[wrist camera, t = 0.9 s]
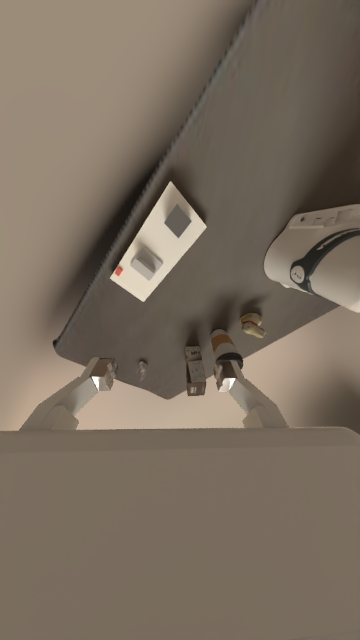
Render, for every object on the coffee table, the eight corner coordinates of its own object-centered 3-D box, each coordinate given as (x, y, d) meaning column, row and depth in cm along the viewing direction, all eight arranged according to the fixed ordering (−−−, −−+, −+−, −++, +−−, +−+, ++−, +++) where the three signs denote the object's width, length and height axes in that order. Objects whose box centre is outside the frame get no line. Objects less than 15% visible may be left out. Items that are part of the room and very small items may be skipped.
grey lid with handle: (143, 246, 32) (139, 248, 29) (163, 263, 35) (161, 267, 31) (130, 265, 35) (125, 269, 31) (149, 280, 37) (147, 285, 34)
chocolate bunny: (244, 309, 46) (258, 326, 38) (262, 314, 48) (280, 332, 40) (235, 321, 49) (247, 340, 41) (253, 326, 51) (267, 345, 43)
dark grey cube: (176, 206, 28) (177, 203, 25) (190, 221, 30) (191, 221, 27) (165, 223, 30) (163, 222, 27) (178, 237, 32) (178, 238, 28)
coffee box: (184, 346, 56) (187, 382, 43) (199, 345, 56) (206, 381, 43) (185, 360, 62) (187, 396, 49) (198, 359, 62) (204, 395, 48)
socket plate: (170, 184, 28) (170, 179, 26) (205, 226, 33) (207, 226, 30) (113, 275, 39) (108, 279, 36) (144, 298, 43) (142, 303, 41)
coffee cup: (210, 325, 50) (221, 357, 38) (231, 327, 51) (249, 359, 39) (205, 341, 55) (214, 374, 43) (225, 342, 56) (238, 375, 43)
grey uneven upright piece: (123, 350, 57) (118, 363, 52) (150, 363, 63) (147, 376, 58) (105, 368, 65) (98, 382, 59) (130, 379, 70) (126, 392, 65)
